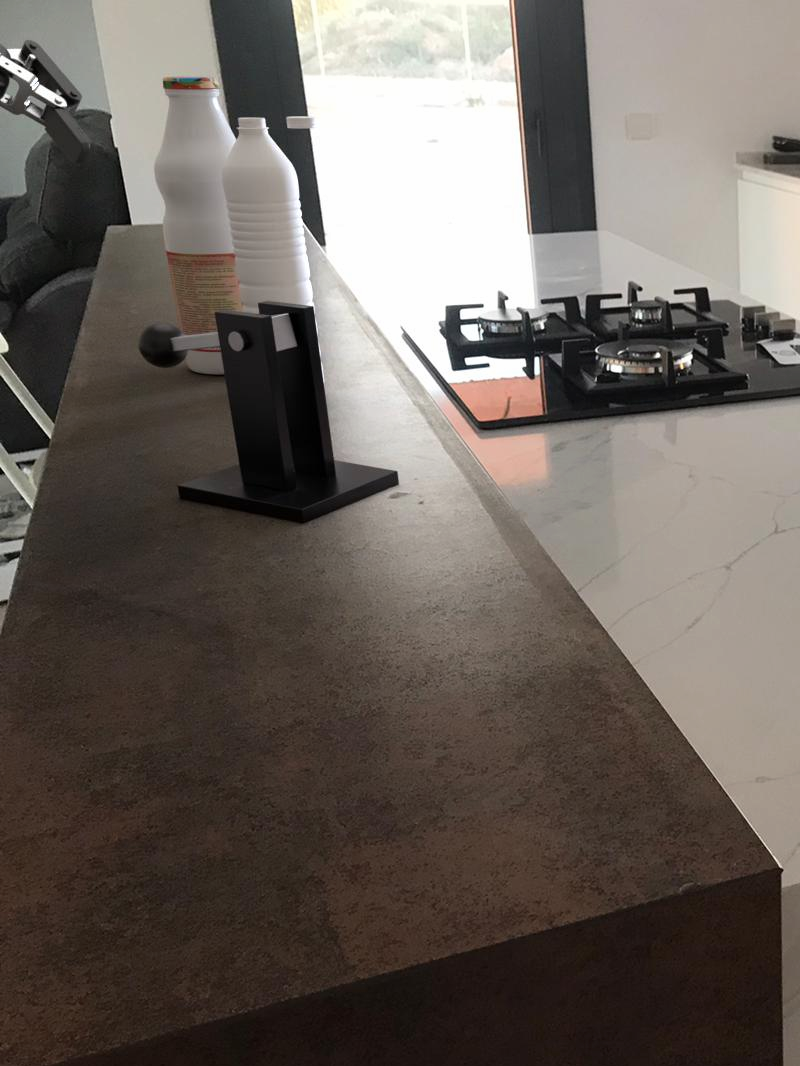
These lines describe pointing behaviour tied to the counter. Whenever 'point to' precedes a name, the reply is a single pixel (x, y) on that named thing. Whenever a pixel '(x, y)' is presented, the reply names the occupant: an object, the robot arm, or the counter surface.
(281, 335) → the lever with ball knob
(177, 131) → the fruit juice
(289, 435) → the tap bracket
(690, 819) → the counter surface
